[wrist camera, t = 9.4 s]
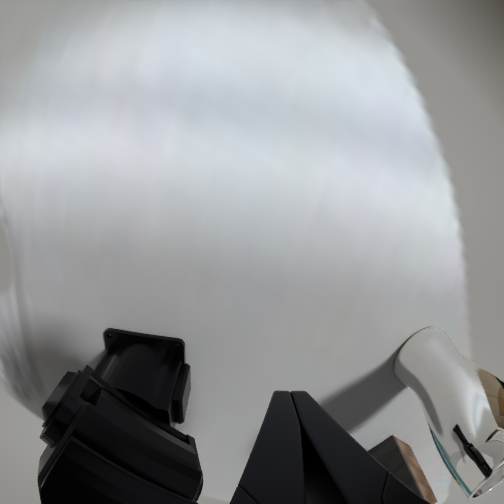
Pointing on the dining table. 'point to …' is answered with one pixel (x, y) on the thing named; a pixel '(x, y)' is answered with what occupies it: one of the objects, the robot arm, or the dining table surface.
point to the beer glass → (457, 408)
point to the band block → (403, 466)
